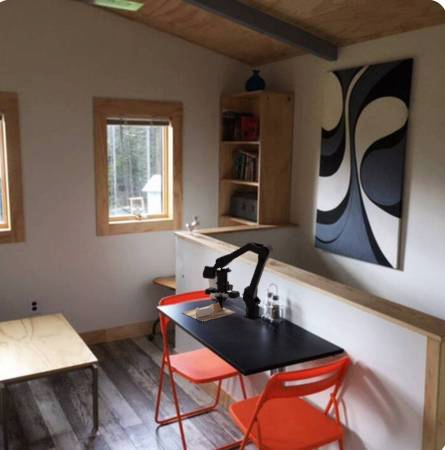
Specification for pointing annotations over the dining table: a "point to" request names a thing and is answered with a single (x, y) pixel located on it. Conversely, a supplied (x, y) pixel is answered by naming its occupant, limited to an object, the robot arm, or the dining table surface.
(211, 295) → the foam cup
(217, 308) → the gate panel
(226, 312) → the card
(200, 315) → the fence fixed
